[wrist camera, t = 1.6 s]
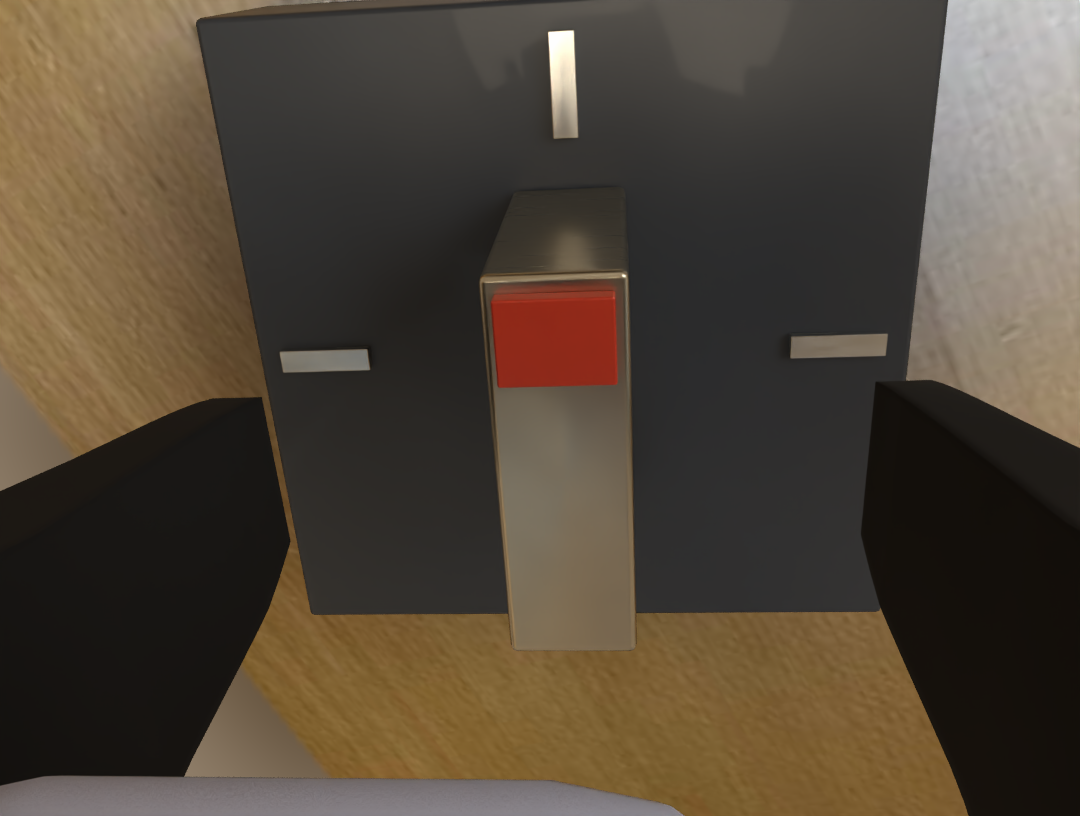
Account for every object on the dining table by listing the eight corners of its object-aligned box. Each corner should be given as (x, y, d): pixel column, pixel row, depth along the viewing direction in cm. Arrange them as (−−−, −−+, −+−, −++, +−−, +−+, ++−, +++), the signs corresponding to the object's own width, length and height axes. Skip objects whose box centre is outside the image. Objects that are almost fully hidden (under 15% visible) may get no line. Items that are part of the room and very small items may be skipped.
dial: (631, 492, 16) (637, 666, 12) (533, 494, 16) (508, 666, 12) (625, 185, 14) (629, 278, 10) (512, 190, 14) (473, 283, 10)
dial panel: (844, 519, 19) (883, 619, 16) (350, 526, 20) (307, 622, 17) (891, -33, 15) (958, -28, 12) (264, 6, 16) (187, 19, 13)
